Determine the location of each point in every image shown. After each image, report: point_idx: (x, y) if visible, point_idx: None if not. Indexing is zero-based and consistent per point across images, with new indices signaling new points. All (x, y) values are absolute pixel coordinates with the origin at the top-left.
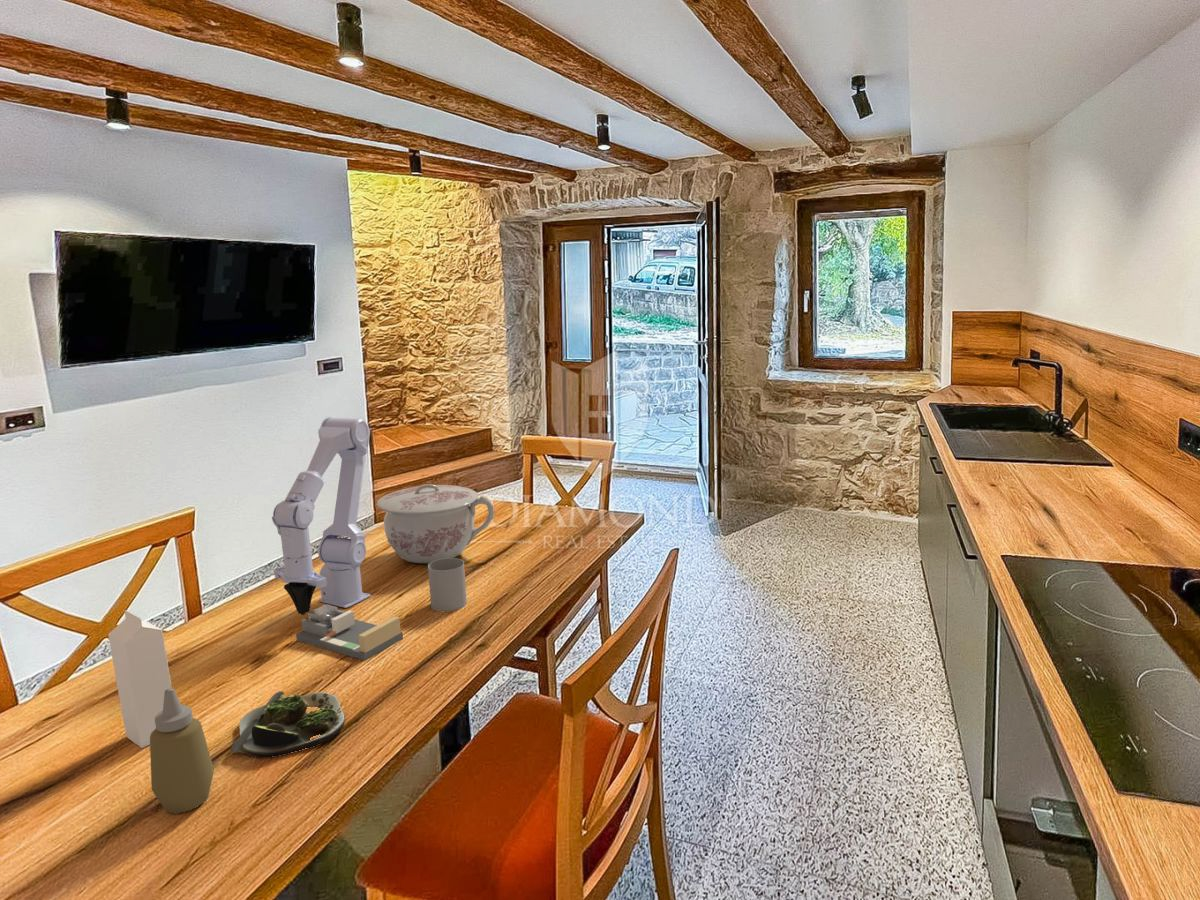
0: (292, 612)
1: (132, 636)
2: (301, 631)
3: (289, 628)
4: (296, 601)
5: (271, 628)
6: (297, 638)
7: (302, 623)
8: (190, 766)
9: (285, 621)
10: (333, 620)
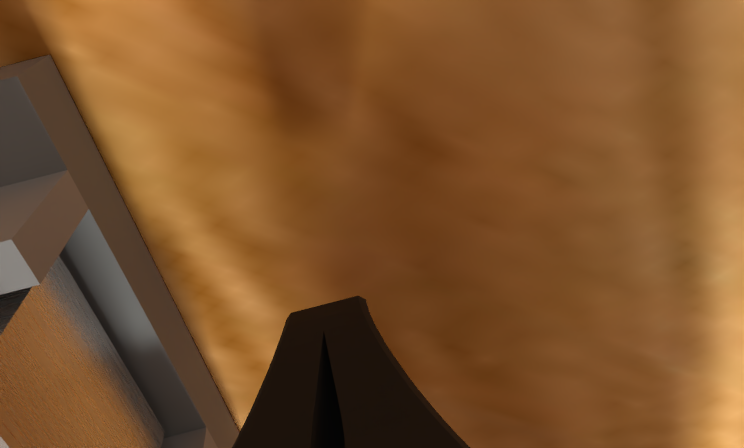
0: (701, 284)
1: None
2: (51, 153)
3: (424, 134)
4: (345, 432)
5: (588, 3)
6: (24, 66)
7: (16, 221)
8: None
9: (603, 174)
10: None
